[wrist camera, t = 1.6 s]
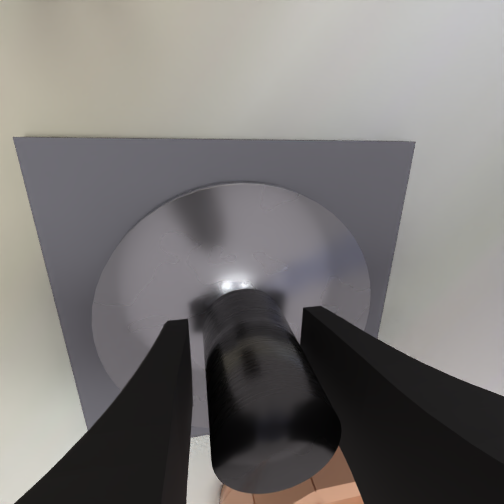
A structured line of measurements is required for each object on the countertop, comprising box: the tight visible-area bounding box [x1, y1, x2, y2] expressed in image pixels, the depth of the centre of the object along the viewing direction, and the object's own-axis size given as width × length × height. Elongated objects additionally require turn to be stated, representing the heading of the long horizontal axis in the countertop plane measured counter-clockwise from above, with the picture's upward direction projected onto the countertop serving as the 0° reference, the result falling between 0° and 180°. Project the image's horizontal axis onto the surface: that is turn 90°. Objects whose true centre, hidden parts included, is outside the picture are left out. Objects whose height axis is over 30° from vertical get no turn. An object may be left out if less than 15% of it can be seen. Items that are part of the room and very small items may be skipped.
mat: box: [13, 137, 416, 438], centre depth 11 cm, size 12×12×1 cm
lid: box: [92, 181, 371, 494], centre depth 9 cm, size 10×10×5 cm
